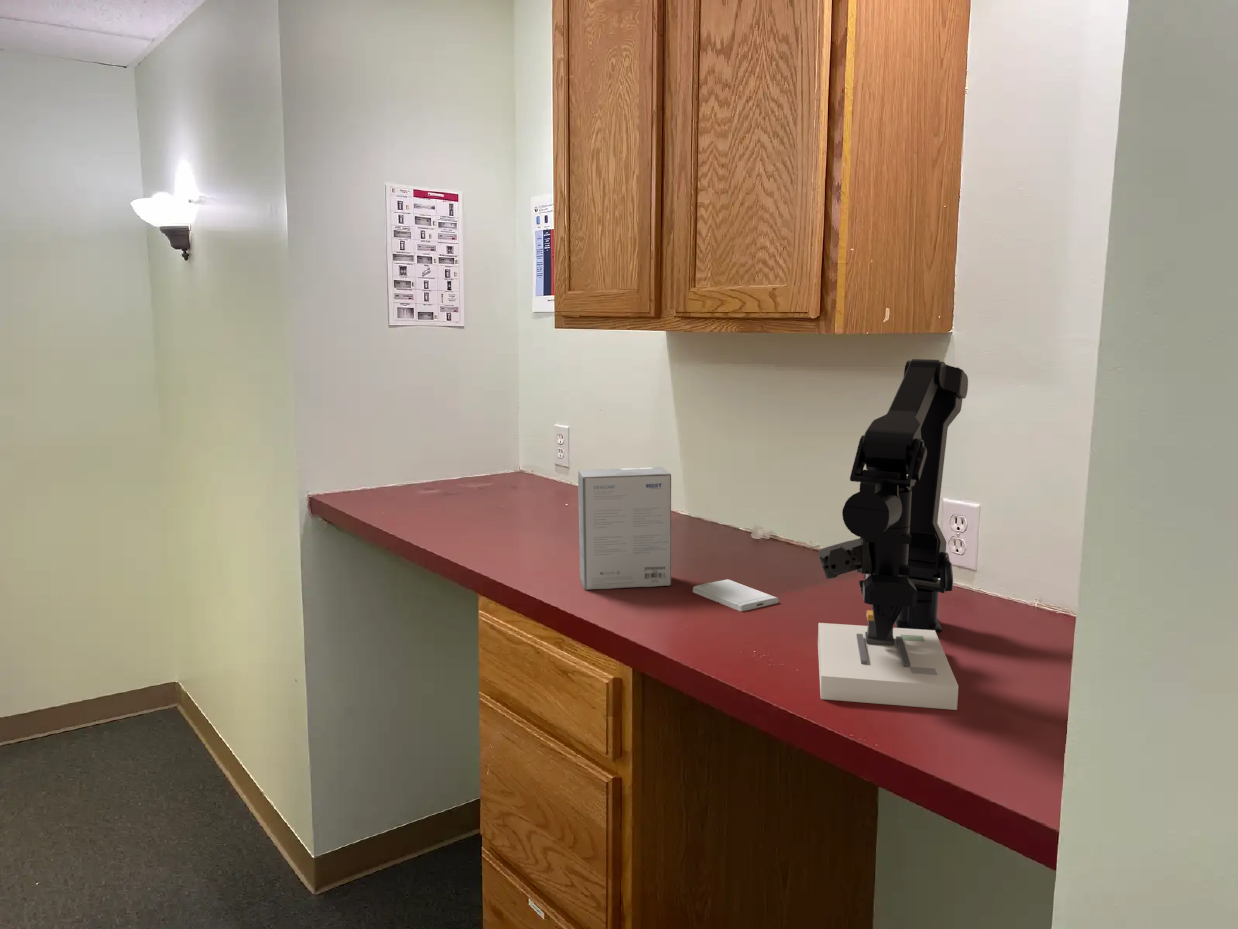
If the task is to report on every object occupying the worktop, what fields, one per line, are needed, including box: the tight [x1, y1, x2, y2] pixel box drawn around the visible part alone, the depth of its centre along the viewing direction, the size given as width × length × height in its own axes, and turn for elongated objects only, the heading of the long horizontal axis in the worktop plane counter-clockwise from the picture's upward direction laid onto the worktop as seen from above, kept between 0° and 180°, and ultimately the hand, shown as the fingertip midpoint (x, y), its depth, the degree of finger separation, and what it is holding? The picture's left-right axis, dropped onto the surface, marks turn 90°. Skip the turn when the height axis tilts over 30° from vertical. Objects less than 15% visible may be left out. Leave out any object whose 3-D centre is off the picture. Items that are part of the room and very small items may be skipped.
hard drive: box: [692, 579, 780, 612], centre depth 154 cm, size 2×8×12 cm
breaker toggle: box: [865, 609, 895, 645], centre depth 125 cm, size 3×4×4 cm
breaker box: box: [817, 622, 959, 711], centre depth 121 cm, size 20×16×4 cm
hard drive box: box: [577, 466, 672, 591], centre depth 161 cm, size 16×8×20 cm, turn 99°
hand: (881, 639), depth 122 cm, fingers closed
